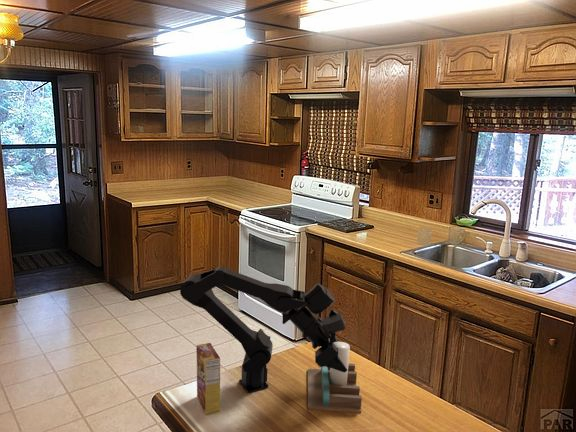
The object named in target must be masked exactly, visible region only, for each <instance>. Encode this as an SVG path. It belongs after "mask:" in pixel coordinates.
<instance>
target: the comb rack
mask: <svg viewBox="0 0 576 432" xmlns="http://www.w3.org/2000/svg"><path fill="white" fill-rule="evenodd" d="M355 370H356V363H349V364H348V377H347V385H332V384H329V378H330V368H329V367H326V366H324V367H320V369H319V368H307V410H311V411H314V410H315V411H327V412H345V413H359V414H360V413H362V401H363V399H362V398H363V397H362V395H360V390H361V388H360V386H359V385H357V371H355Z"/></svg>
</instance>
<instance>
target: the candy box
mask: <svg viewBox="0 0 576 432" xmlns="http://www.w3.org/2000/svg"><path fill="white" fill-rule="evenodd" d="M195 349H196V351H195V352H196V397H197V399H198V401H199V403H200V405H201V407H202V410H203V413H204V415H210V414H214V413H219V412H220V411H221V357H220V355H219V354H218V353H217V351H216V349H215V348H214V346H213V345H212V343H211V342H208V343H202V344H197V345H196V348H195Z"/></svg>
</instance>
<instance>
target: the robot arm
mask: <svg viewBox="0 0 576 432" xmlns="http://www.w3.org/2000/svg"><path fill="white" fill-rule="evenodd" d="M220 285H222V286H225V287H227V288H229V289H233V290H236V291H238V292H240V293H243V294H247V295H249V296H252V297H254V298H257V299H260V300H262V302H264V303H265V304H266V305H267V306H269V307H270V308H272V309H273V310H276V311H277V312H279V313H282V314H281V316H282V321H281V322H282V324H283V325H285V324H286V323H287V322H289V321H290V322H291V323H292V324H293V325H294V326H295V328H297V329H298V330H299V331H300V333H302V336H301V337H302V338H303V339H304V340H305V339H307V340H308V341H310V343H311V348H313V349H314V350H316V351H315V352H314V361H315V364H316V366H318V367H319V368H321V367H324V366H326V367H329V368H333V369H336V370H338V371H341V372H344V373H345V372H346V371H347V368H346V367H345V365H344V364H343V362H342V361H341V359H340V358H339V357H338V348H337V347H336V346H335V344H334V342H339V340H337V338H336V333H337V332H343V331H344V330H346V329H347V328H346V322H345V319H344V318H343V315H342V312H340V311H336V310H335V309H334V308H332V309H329V310H328V316H325V318H321V317H320V316H318V315H320V314H322V313H323V312H324V311H325V310H327V308H329V307H330V306H331V305H332V304H334V303H335V302H336V299H335V296H333V294H332V292H331V291H330V290H329V289H328V288H327V287H325V286H324V285H322V284H320V282H317V283H316V284H314V285H313V286H312V288H311V289H309V291H307V292H306V291H304V290H303V291H302V290H297V289H293V288H292V287H291V286H290V285H286V284H285V285H284V284H282V283H281V284H280V283H268V282H264V281H261V280H259V279H255V278H254V277H250V276H248V275H244V274H242V273H239V272H238V271H234V270H232V269H229V268H227V267H225V266H223V265H222V266H218V267H216V268H214V269H211V270H207V271H204V272H202V273H200V274H199V273H192V274H190V275H188V276H187V277H186V279H185V280H184V281H183V282H182V284H181V285H180V288H179V293H180V296H181V297H182V299H183V300H185V301H186V302H188V303H189V304H191V305H193V306H195V307H197V308H200V309H203V310H204V311H205V312H206V313H208V314H209V315H210V316H211V317H212V318H213V319H214V320H215V321H216V322H218V324H220V326H221V327H223V328H224V329H225V330H226V331H227V332H228V333H229V334H231V336H233V338H234V339H235V340H237V341H238V342H239V343H240V345H241V347H242V349H243V351H244V352H245V354H244V358H243V361H242V364H241V379H239V380H238V383H239V384H240V385H241V386H242V387H243V388H244V390H245V391H246V392H247V393H253V392H256V391H259V390H264V389H266V388H269V384H268V383H267V382H268V368H267V365H268V364H269V363H270V362H271V359H272V354H273V346H274V345H273V341H272V340H271V336H270V335H267V334H266V333H265V331H264V330H263V329H262V328H259V330H258V331H257V330H254V329H251V328H250V327H249V326H248V325H247V324H246V323H244V321H243V320H241V319H240V318H239V317H238V316H237V315H236V314H235V313H234V312H233V311H232V310H231V309H230V308H228V306H226V305H225V303H223V301H222V300H220V299H219V298H218V297H217V296H216V295H215V292H214V291H213V289H214V288H216V287H217V286H220ZM314 314H315V315H317V316H315V315H314ZM317 348H318V349H317Z"/></svg>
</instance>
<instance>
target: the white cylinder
mask: <svg viewBox="0 0 576 432" xmlns="http://www.w3.org/2000/svg"><path fill="white" fill-rule="evenodd" d="M334 344H335V346H336V347H337V348H338V357H339V358H340V359H341V361H342V362H343V364H344V365H345V367H346V368H347V371H346V372H345V373H344V372H341V371H338V370H336V369H333V368H330V378H329V384H332V385H347V377H348V364H350V350H351V346H350V344H348V343H347V342H343V341H338V342H334Z"/></svg>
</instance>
